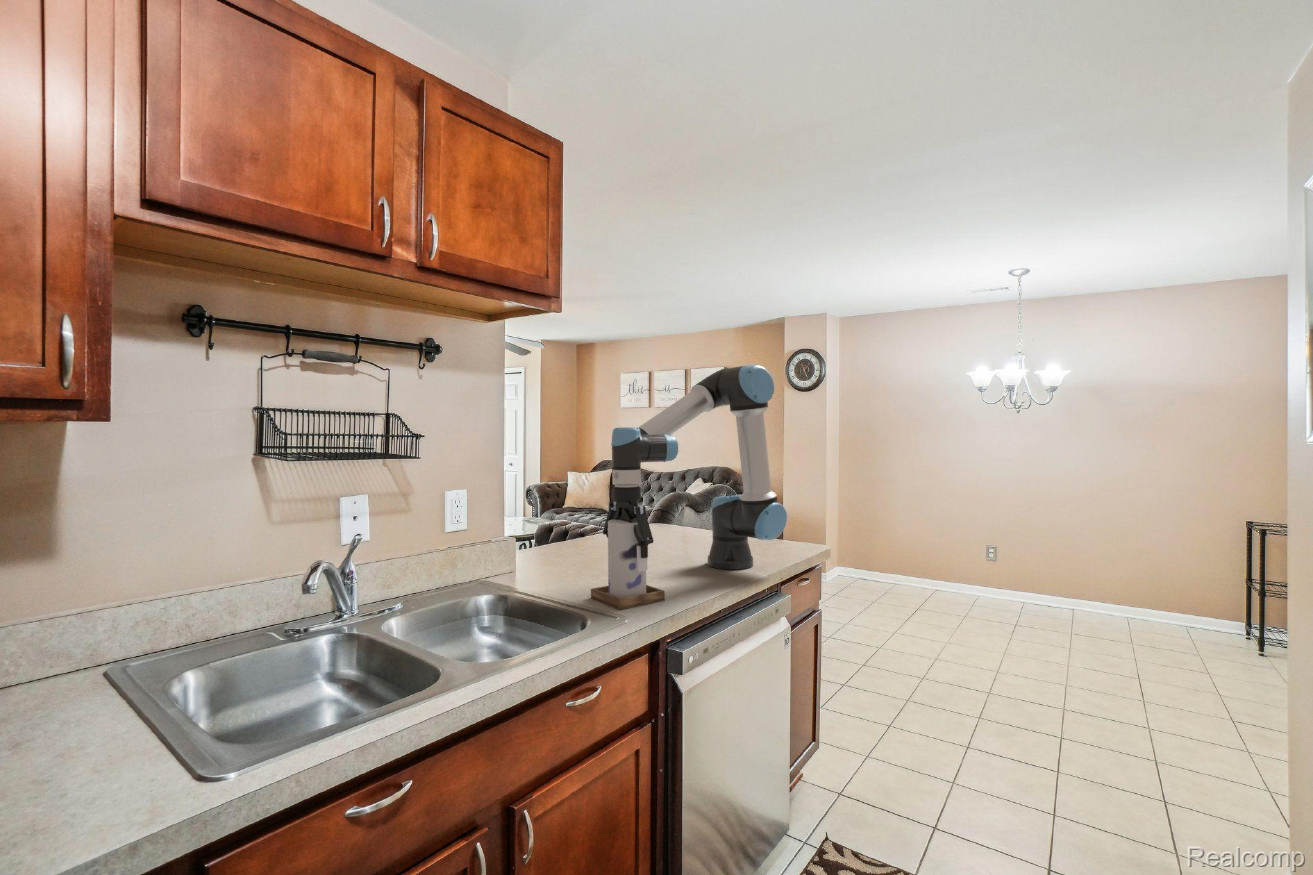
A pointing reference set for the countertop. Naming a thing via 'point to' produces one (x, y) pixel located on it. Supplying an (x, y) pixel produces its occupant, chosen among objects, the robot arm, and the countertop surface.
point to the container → (623, 561)
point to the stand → (629, 602)
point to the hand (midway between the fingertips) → (627, 566)
